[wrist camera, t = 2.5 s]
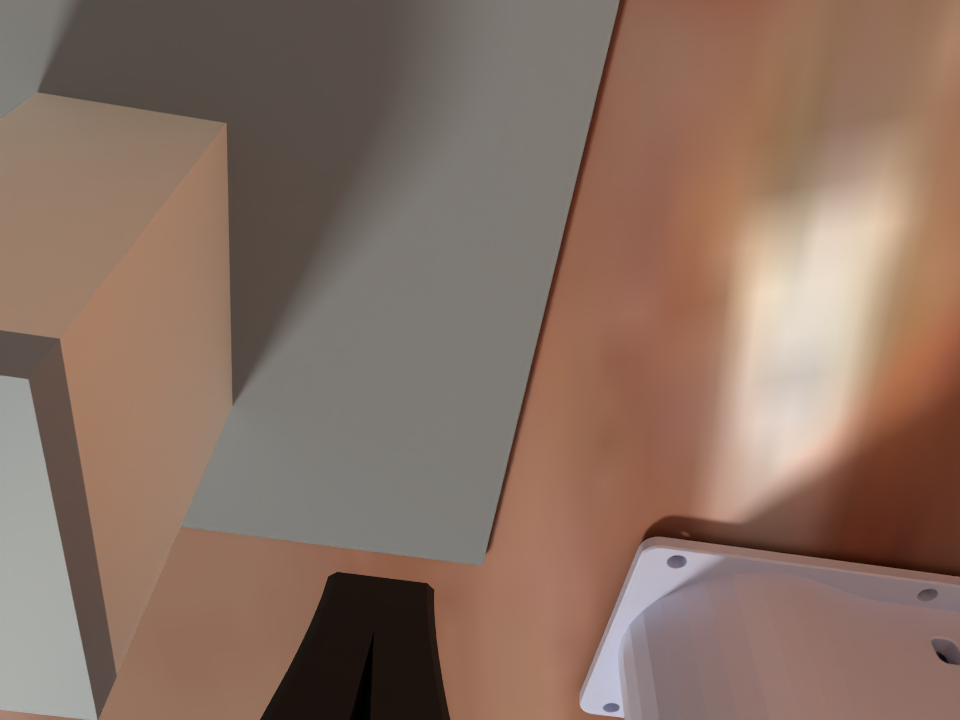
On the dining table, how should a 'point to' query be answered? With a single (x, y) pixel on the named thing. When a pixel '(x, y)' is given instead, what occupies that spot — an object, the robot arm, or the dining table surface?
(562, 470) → the dining table surface
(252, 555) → the dining table surface
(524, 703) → the dining table surface
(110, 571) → the beige rectangular block
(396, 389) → the mat
